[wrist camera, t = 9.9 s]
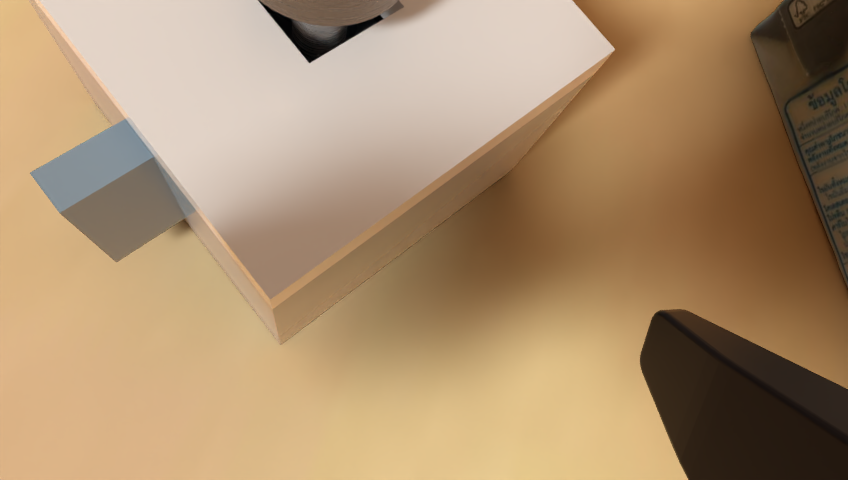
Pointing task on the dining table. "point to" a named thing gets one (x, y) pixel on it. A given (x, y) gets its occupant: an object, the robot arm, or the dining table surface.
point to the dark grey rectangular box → (813, 101)
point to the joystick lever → (324, 21)
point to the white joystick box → (304, 131)
